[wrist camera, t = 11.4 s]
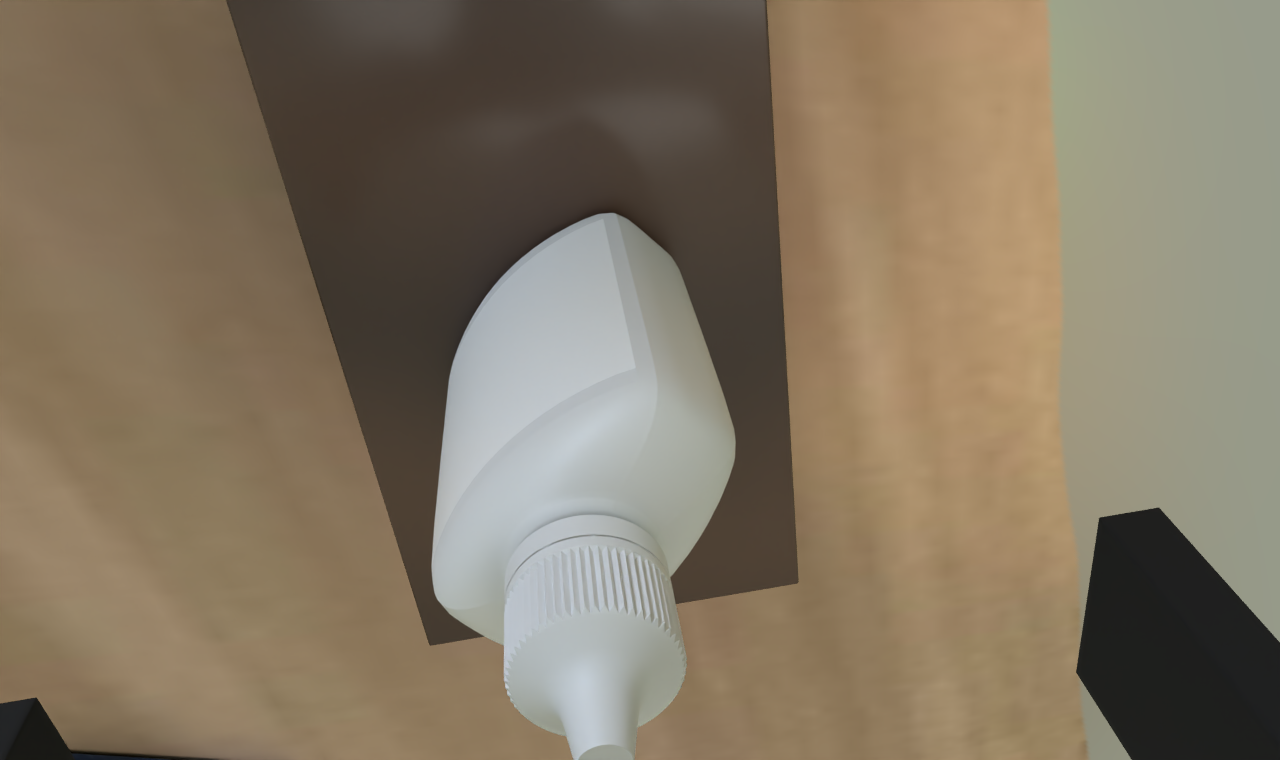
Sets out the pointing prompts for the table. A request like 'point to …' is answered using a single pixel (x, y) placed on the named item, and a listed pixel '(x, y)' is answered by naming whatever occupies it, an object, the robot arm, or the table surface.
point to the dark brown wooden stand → (531, 214)
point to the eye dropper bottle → (581, 479)
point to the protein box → (108, 757)
